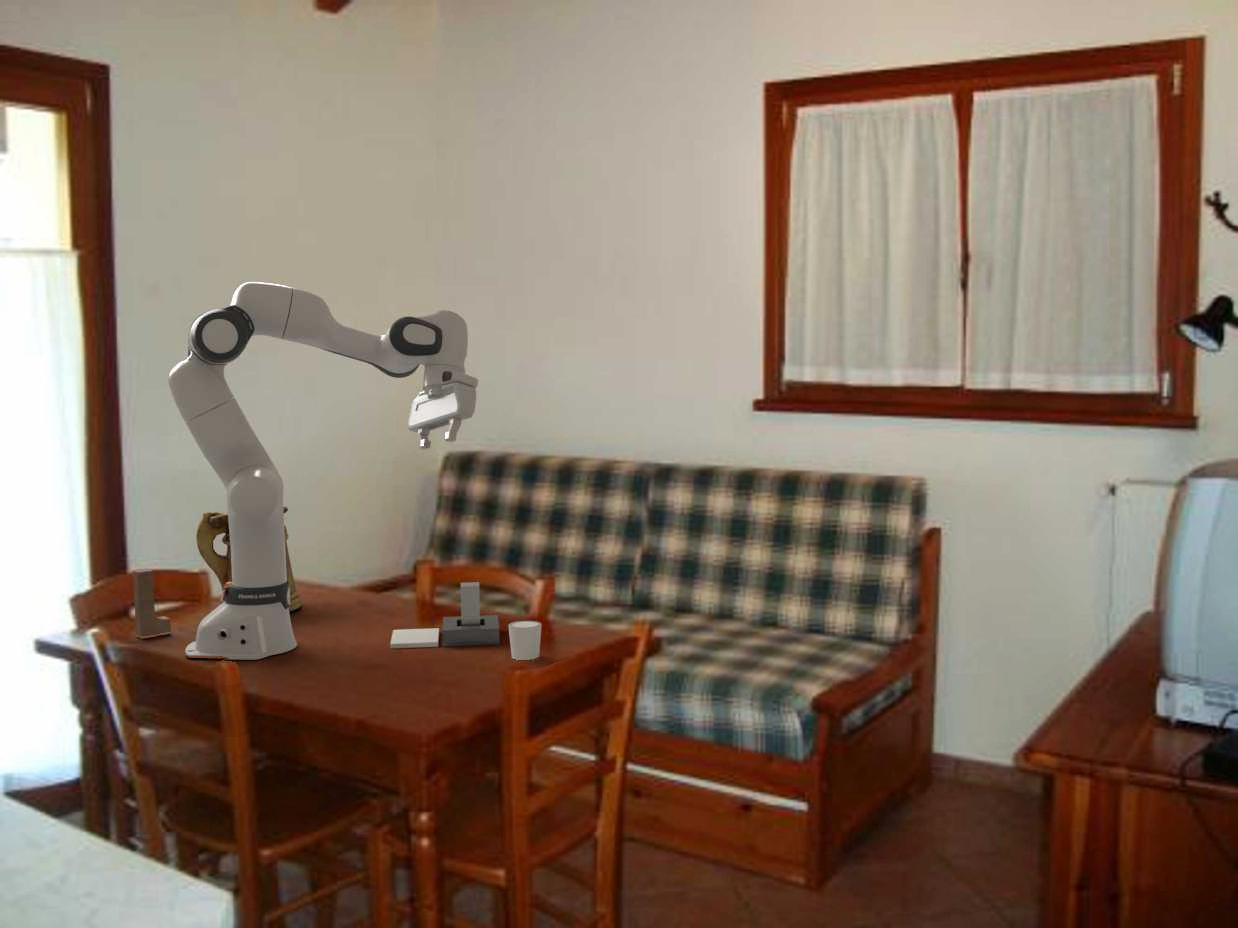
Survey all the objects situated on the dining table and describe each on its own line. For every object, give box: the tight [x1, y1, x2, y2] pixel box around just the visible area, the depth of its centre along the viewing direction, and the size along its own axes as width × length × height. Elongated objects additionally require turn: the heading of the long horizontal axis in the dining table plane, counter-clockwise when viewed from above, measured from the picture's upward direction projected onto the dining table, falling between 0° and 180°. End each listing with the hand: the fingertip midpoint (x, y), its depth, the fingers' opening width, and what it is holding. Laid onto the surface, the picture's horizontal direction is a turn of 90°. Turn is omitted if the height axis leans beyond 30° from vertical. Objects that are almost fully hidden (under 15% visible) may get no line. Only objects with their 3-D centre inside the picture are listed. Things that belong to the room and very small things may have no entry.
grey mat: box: [389, 627, 440, 649], centre depth 267 cm, size 10×12×1 cm
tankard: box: [196, 505, 302, 613], centre depth 293 cm, size 18×24×25 cm
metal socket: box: [442, 614, 501, 647], centre depth 268 cm, size 12×12×4 cm
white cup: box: [507, 620, 542, 661], centre depth 253 cm, size 7×7×7 cm
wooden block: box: [132, 567, 172, 636], centre depth 271 cm, size 7×3×15 cm, turn 131°
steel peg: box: [460, 581, 481, 626], centre depth 268 cm, size 4×4×12 cm
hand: (437, 444), depth 264 cm, fingers open, 8 cm apart
